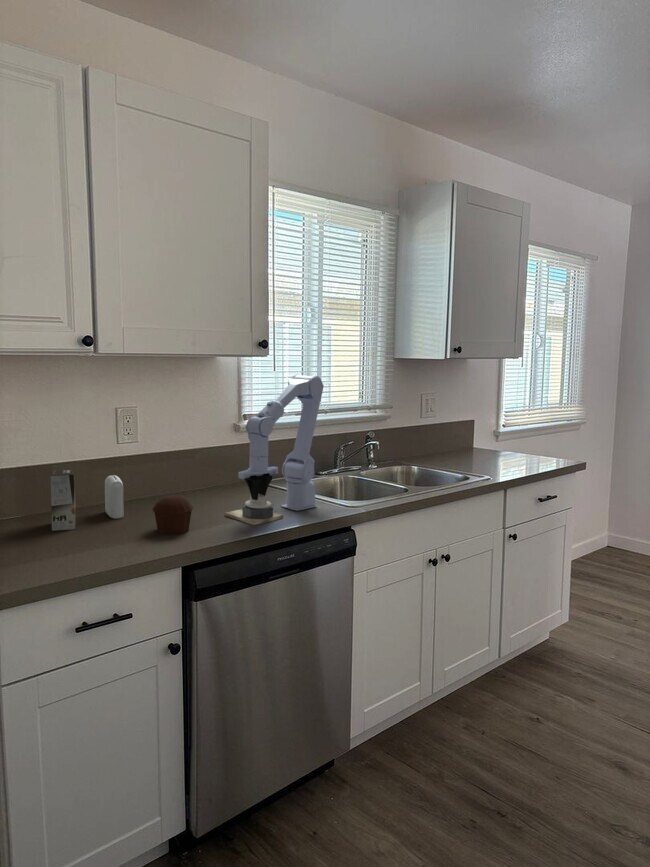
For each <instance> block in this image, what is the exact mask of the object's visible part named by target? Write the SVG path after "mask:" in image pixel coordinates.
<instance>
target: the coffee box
mask: <svg viewBox="0 0 650 867" xmlns="http://www.w3.org/2000/svg"><path fill="white" fill-rule="evenodd" d="M75 475H76V474H75V468H58V469H51V471H50V475H49V476H50V478H49V479H50V507H51V508H50V512H51V531H54V532H55V531H66V530H67V531H68V530H69V531H70V530H75V528H76V486H75V485H76V479H75Z"/></svg>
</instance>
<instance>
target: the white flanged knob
mask: <svg viewBox="0 0 650 867" xmlns="http://www.w3.org/2000/svg"><path fill="white" fill-rule="evenodd" d="M244 504H245V505H246V506H247V507H249V508H255V509H265V508H269V507H271V504H272V502H270V501H269V500H268V496H267V495H265V496H264V495H261V494H259V493H258V499H257V500H253V499H252V498H251V493H250V494H249V500H246V501H245V503H244Z"/></svg>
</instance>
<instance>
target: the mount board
mask: <svg viewBox="0 0 650 867" xmlns="http://www.w3.org/2000/svg"><path fill="white" fill-rule="evenodd" d="M224 516H225V517H228V518H231V519H233V520H236V521H240V522H243V523H246V524H249V525H252V526H255V525H259V524H265V523H268V522H273V521H277V520H282V519H284V514H281V513H277V512H274V511H273V517H271V518H266V519H249V518H246V517H243V508H241V509H237V510H231V511H226V512H224Z"/></svg>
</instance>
